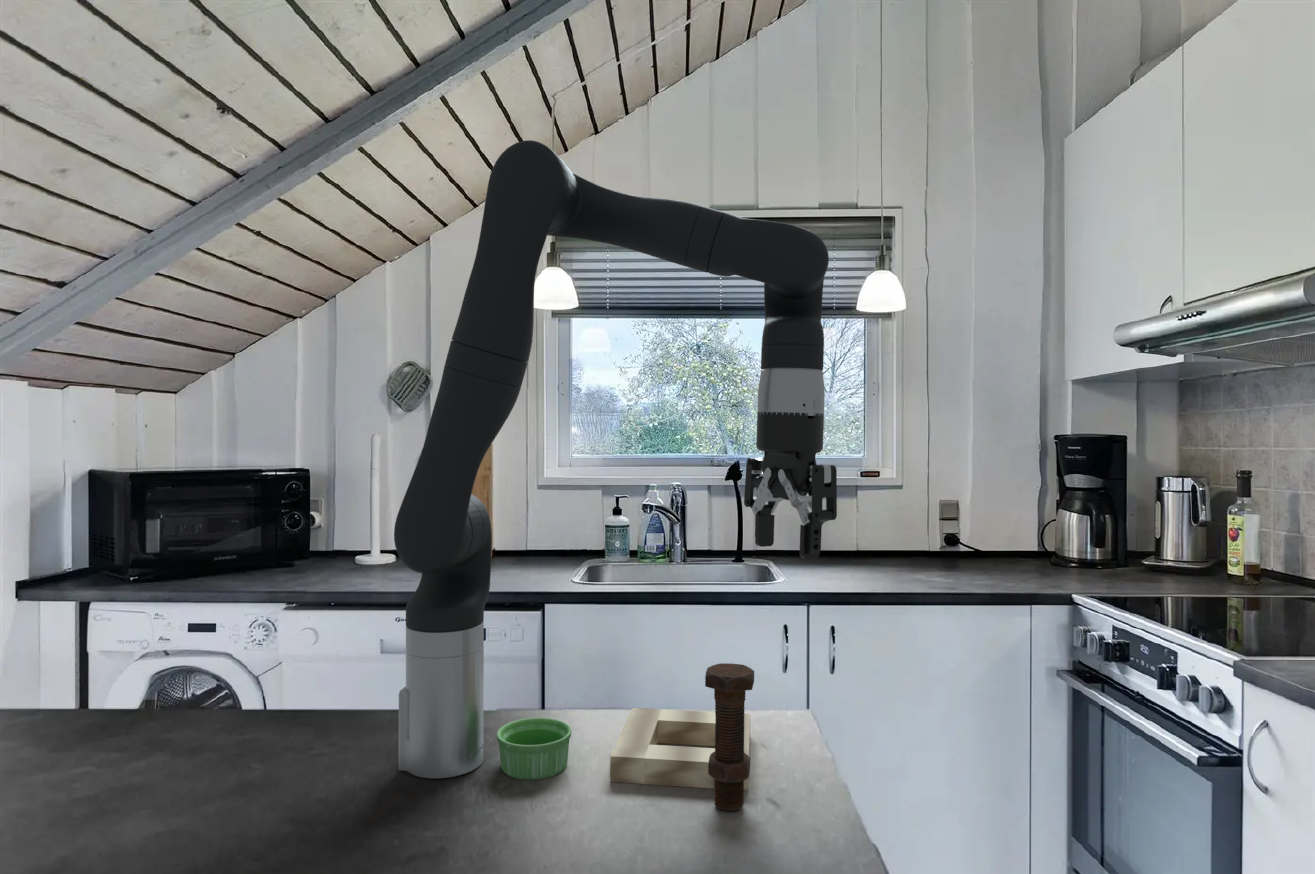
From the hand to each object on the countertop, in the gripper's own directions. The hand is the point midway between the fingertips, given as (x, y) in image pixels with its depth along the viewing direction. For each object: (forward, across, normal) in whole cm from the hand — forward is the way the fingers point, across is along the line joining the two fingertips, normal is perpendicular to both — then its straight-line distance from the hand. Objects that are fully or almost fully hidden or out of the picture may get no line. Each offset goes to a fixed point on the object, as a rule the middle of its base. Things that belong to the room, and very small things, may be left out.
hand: (786, 551), depth 90 cm
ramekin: (+28, -18, -23) cm, 41 cm away
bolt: (+28, +1, -8) cm, 29 cm away
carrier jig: (+28, -12, -6) cm, 31 cm away
